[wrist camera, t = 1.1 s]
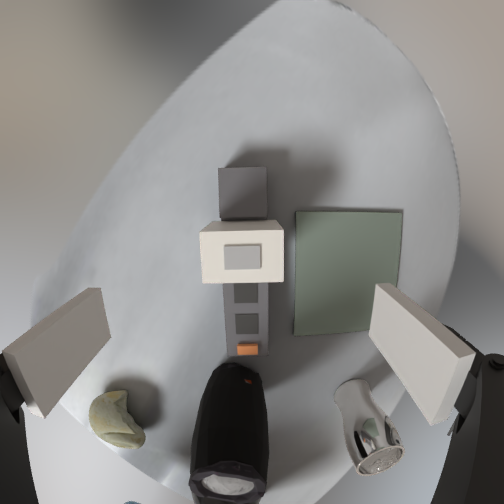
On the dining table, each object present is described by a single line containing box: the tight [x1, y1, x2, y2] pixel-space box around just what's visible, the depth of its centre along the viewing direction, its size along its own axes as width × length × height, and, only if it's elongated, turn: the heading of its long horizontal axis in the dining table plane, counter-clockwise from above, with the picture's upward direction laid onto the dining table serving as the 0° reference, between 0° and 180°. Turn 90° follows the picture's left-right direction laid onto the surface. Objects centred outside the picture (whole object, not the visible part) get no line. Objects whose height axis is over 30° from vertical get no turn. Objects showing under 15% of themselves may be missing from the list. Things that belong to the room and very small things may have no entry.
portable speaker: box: [189, 363, 269, 504], centre depth 29 cm, size 8×9×19 cm
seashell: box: [89, 390, 146, 449], centre depth 37 cm, size 13×8×10 cm
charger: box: [199, 220, 284, 283], centre depth 28 cm, size 4×7×8 cm, turn 91°
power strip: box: [218, 167, 268, 356], centre depth 32 cm, size 22×5×4 cm, turn 1°
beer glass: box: [334, 379, 405, 476], centre depth 32 cm, size 7×7×15 cm
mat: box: [293, 211, 402, 336], centre depth 35 cm, size 16×14×1 cm
